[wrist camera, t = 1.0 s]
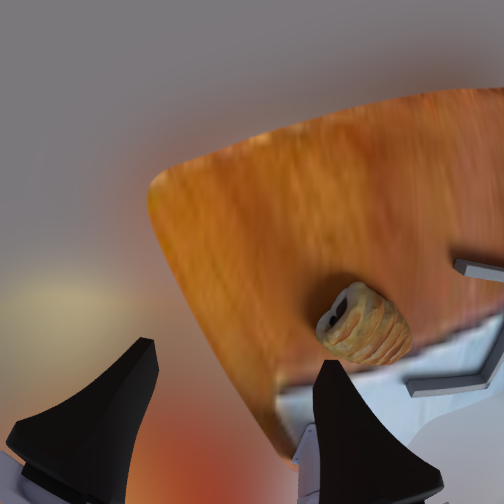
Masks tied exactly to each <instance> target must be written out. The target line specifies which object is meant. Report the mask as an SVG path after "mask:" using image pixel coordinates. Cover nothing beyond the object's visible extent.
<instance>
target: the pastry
mask: <svg viewBox="0 0 504 504" xmlns="http://www.w3.org/2000/svg"><path fill="white" fill-rule="evenodd" d="M316 339H317V341H318V342H320V343H322V344H323V345H324V347H325V348H327V349H328V350H329V351H331V352H332V353H333V354H334V355H335V356H338V357H341V358H344V359H346V360H348V361H350V362H354V363H358V364H362V363H363V364H367V365H370V364H373V365H391V364H393V363H395V362H396V361H397V360H399V359H400V358H401V357H402V356H403V355H404V354H405V353H407V352H409V351H410V350H411V347H412V332H411V330H410V329H409V326H408V325H407V323H406V320H405V319H404V317H403V316H402V315H401V314H400V313H399V312H398V311H397V308H396V306H395V304H394V303H392V302H391V301H386V300H385V299H384V298H382V297H381V296H379V295H378V294H377V293H376V292H375V291H373V290H371V289H369V288H368V287H367V286H366V285H365V284H364V283H363V282H359V281H357V282H353V283H352V284H350V285H349V287H348V288H345V289H344V290H343V291H342V292H341V293H340V294H339V295H338V296H337V299H336V300H335V302H334V303H333V305H332V308H331V309H330V310H329V311H328V312H326V313H325V314H324V315H323V316H322V317H321V319H320V320H319V321H318V323H317V327H316Z"/></svg>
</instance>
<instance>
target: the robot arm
mask: <svg viewBox="0 0 504 504" xmlns="http://www.w3.org/2000/svg"><path fill="white" fill-rule="evenodd" d="M158 372H159V367H158V362H157V356H156V351H155V344H154V340H152V339H147V338H142V337H140V338H139V339H138V340H137V341H136V342H135V343H134V344H133V345H132V346H131V347H130V348H129V349H128V350H127V351H126V352H125V353H124V354H123V355H122V356H121V357H120V358H119V359H118V360H117V361H116V362H115V363H114V364H112V365H111V367H109V368H108V369H107V370H106V371H105V372H104V373H102V374H101V375H100V376H99V377H98V378H97V379H95V380H94V381H93V382H92V383H90V384H89V385H88V386H87V387H85V388H84V389H82V390H81V391H80V392H78V393H77V394H75V395H74V396H72V397H70V398H69V399H67V400H65V401H64V402H62V403H60V404H59V405H57V406H55V407H52V408H50V409H48V410H46V411H44V412H42V413H40V414H37V415H35V416H32V417H29V418H26V419H23V420H20V421H17V422H16V423H15V425H14V427H13V429H12V431H11V433H10V435H9V436H8V438H7V440H6V445H7V446H8V447H9V448H10V449H11V450H12V451H13V452H14V453H16V454H17V455H18V456H19V457H20V458H22V459H23V460H24V461H25V462H26V463H25V465H24V466H23V465H22V464H20V463H19V462H18V461H16V460H15V459H13V458H12V457H11V456H9V455H8V454H6V453H5V452H4V451H0V501H1V502H2V503H3V504H125V495H126V485H127V479H128V472H129V467H130V462H131V457H132V452H133V448H134V443H135V440H136V436H137V433H138V430H139V427H140V425H141V422H142V419H143V417H144V414H145V412H146V409H147V407H148V404H149V402H150V399H151V397H152V394H153V391H154V388H155V384H156V381H157V377H158ZM313 412H314V419H315V424H309V425H308V426H307V427H306V430H305V432H304V434H303V437H302V439H301V441H300V443H299V446H298V448H297V450H296V452H295V454H294V457H293V459H292V463H293V464H299V474H298V476H299V477H298V497H299V498H298V499H297V504H425V502H424V500H426V499H428V498H429V497H431V496H433V495H435V494H437V493H438V492H440V491H441V490H443V488H444V484H443V480H442V476H441V473H440V470H438V469H437V468H435V467H433V466H432V465H430V464H428V463H426V462H424V461H423V460H422V459H421V458H419V457H418V456H416V455H415V454H414V453H412V452H411V451H410V450H409V449H407V448H406V447H405V446H404V445H403V444H402V443H401V442H400V441H398V440H397V439H396V438H395V437H394V436H393V435H392V434H391V433H390V432H389V431H388V430H387V429H386V428H385V426H384V425H383V424H382V423H381V422H380V421H379V420H378V418H377V417H376V416H375V415H374V413H373V412H372V411H371V409H370V408H369V407H368V405H367V404H366V403H365V401H364V400H363V398H362V397H361V395H360V394H359V392H358V391H357V389H356V388H355V386H354V385H353V383H352V381H351V380H350V378H349V377H348V375H347V373H346V372H345V370H344V368H343V367H342V365H341V364H340V362H339V361H338V360H324V363H323V365H322V367H321V370H320V372H319V374H318V377H317V379H316V381H315V384H314V386H313ZM444 504H449V503H448V502H446V503H444Z"/></svg>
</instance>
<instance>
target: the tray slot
mask: <svg viewBox="0 0 504 504" xmlns="http://www.w3.org/2000/svg"><path fill="white" fill-rule="evenodd" d="M454 269H455V270H456V271H458V272H459V273H461V274H462V275H464V276H467V277H474V278H480V279H486V280H493V281H499V282H504V268H502V267H498V266H493V265H488V264H483V263H478V262H473V261H468V260H463V259H457V258H456V262H455V265H454ZM503 361H504V327H503V329H502V332H501V334H500V336H499V338H498V340H497V343H496V345H495V347H494V349H493V351H492V353H491V355H490V357H489V359H488V361H487V362H486V364H485V366H484V368H483V370H482V372H481V373H480V374H479V375H471V376H461V377H450V378H435V379H413V380H409V381H408V383H407V385H406V387H407V390H408V392H409V394H410V396H411V398H416V397H429V396H440V395H449V394H457V393H464V392H471V391H477V390H483V389H487V388H488V387H489V385H490V383H491V382H492V380H493V378H494V377H495V375H496V373H497V371H498V370H499V368H500V366H501V364H502V362H503Z"/></svg>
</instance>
